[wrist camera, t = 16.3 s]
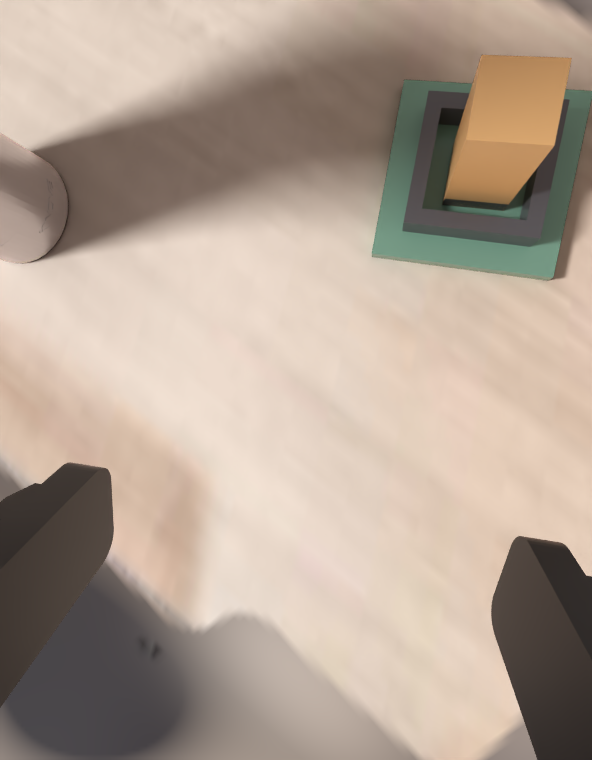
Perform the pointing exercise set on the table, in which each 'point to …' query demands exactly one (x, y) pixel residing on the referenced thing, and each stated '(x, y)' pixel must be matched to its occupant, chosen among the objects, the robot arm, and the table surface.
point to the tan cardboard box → (505, 129)
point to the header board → (463, 224)
